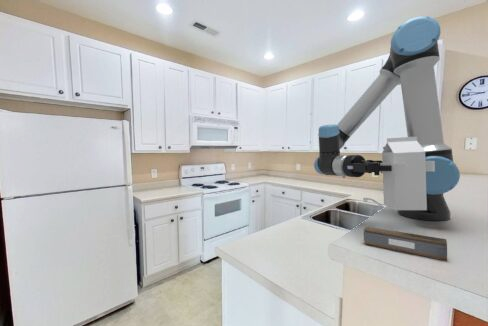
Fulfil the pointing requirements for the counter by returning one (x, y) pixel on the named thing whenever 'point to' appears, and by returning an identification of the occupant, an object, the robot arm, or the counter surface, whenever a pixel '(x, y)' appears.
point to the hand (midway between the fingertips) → (420, 167)
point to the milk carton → (405, 175)
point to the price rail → (407, 242)
